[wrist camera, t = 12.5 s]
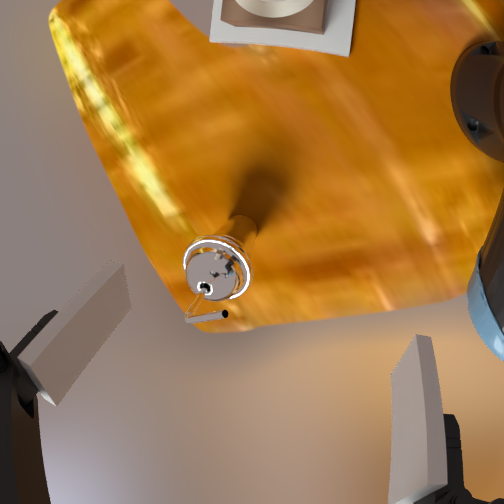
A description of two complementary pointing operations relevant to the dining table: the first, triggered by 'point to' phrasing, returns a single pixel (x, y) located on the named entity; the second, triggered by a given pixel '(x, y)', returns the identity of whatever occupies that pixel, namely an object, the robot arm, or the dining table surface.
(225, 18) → the brown block
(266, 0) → the dixie cup
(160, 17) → the dining table surface
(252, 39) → the board
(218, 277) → the cup with straw
